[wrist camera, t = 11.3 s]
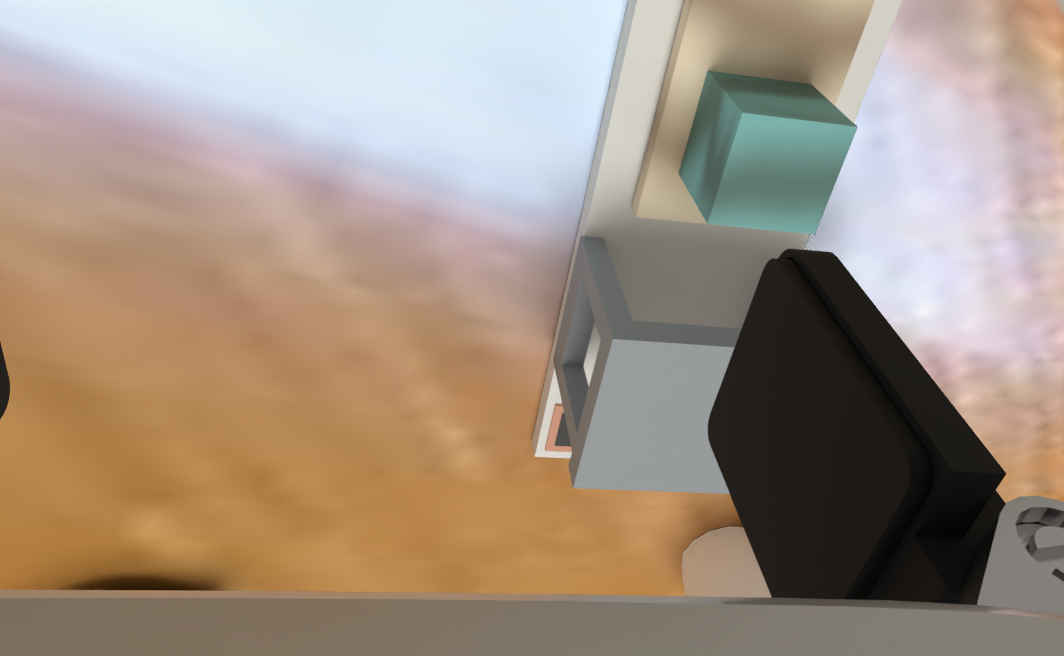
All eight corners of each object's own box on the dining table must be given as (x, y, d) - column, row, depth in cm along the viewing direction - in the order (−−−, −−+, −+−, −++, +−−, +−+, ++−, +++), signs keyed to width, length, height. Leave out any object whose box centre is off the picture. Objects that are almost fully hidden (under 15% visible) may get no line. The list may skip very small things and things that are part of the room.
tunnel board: (688, -325, 32) (794, -343, 23) (992, -258, 34) (1196, -249, 25) (525, 439, 53) (547, 583, 44) (718, 448, 55) (775, 587, 47)
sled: (764, -313, 31) (857, -322, 24) (962, -269, 32) (1100, -266, 26) (631, 207, 42) (670, 295, 36) (780, 222, 44) (843, 309, 37)
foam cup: (634, 569, 62) (678, 743, 51) (723, 493, 58) (790, 664, 48) (723, 610, 66) (780, 778, 55) (812, 541, 62) (892, 708, 52)
